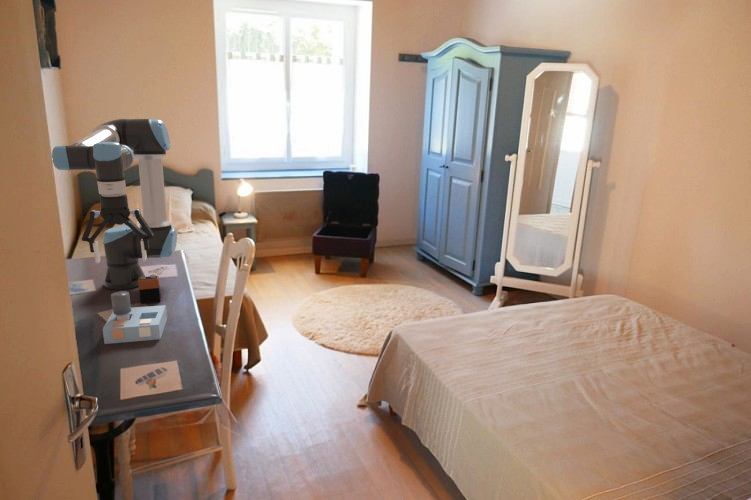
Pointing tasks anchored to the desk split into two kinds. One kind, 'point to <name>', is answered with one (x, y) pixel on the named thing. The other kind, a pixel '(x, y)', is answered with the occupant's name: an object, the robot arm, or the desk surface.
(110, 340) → the socket board
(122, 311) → the grey piece
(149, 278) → the battery
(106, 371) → the desk surface
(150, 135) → the robot arm
